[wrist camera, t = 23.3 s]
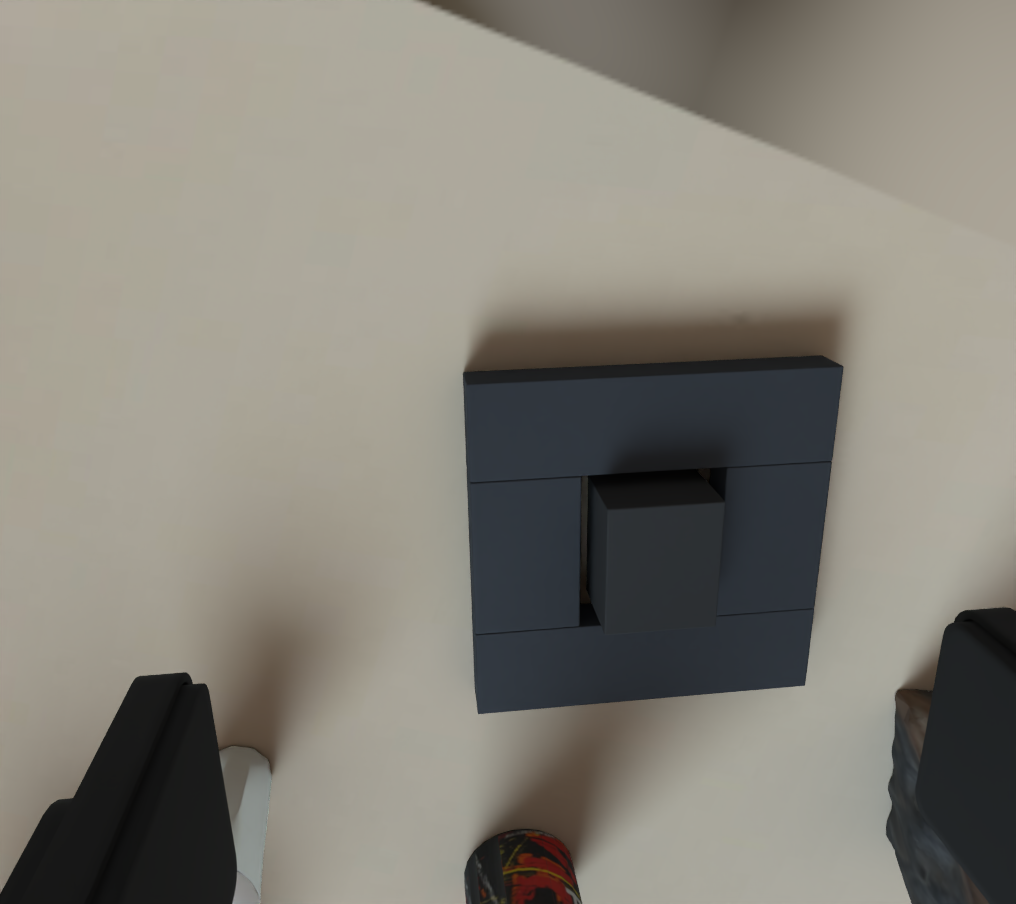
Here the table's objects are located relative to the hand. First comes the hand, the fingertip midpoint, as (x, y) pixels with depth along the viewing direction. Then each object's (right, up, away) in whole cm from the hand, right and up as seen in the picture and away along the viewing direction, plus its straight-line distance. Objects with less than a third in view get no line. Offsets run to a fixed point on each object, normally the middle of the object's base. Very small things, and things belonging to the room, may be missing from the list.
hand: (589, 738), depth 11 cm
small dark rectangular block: (+5, 0, +29) cm, 29 cm away
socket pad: (+5, 0, +29) cm, 29 cm away
